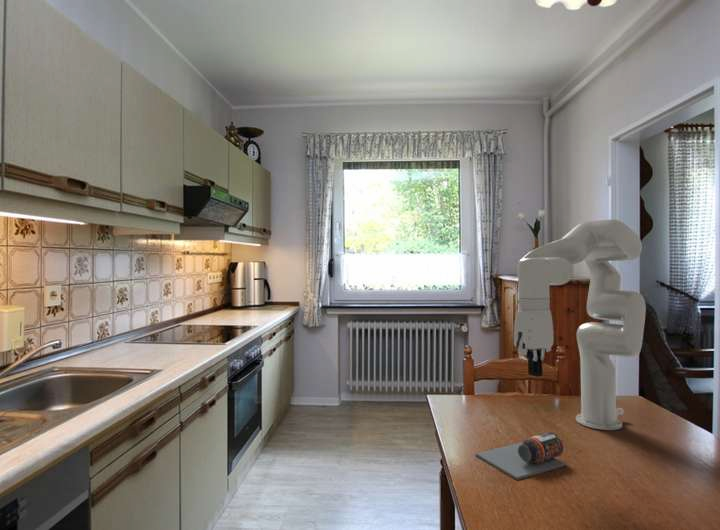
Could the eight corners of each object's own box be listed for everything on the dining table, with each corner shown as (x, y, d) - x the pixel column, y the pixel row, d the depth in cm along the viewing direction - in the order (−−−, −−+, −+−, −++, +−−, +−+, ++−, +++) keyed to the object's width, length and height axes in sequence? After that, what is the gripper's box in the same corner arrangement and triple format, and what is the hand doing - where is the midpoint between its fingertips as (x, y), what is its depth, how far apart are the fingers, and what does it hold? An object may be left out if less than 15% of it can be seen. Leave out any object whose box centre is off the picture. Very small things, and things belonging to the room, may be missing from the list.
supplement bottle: (565, 459, 104) (535, 470, 98) (544, 451, 109) (515, 462, 104) (563, 434, 104) (533, 444, 99) (543, 428, 109) (513, 437, 104)
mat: (521, 444, 115) (521, 442, 115) (565, 465, 102) (565, 463, 102) (475, 455, 108) (475, 453, 108) (516, 480, 95) (516, 477, 95)
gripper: (542, 302, 115) (543, 369, 115) (501, 305, 109) (503, 375, 108) (566, 304, 108) (567, 375, 108) (524, 307, 102) (525, 382, 102)
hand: (535, 375), depth 108 cm, fingers closed
